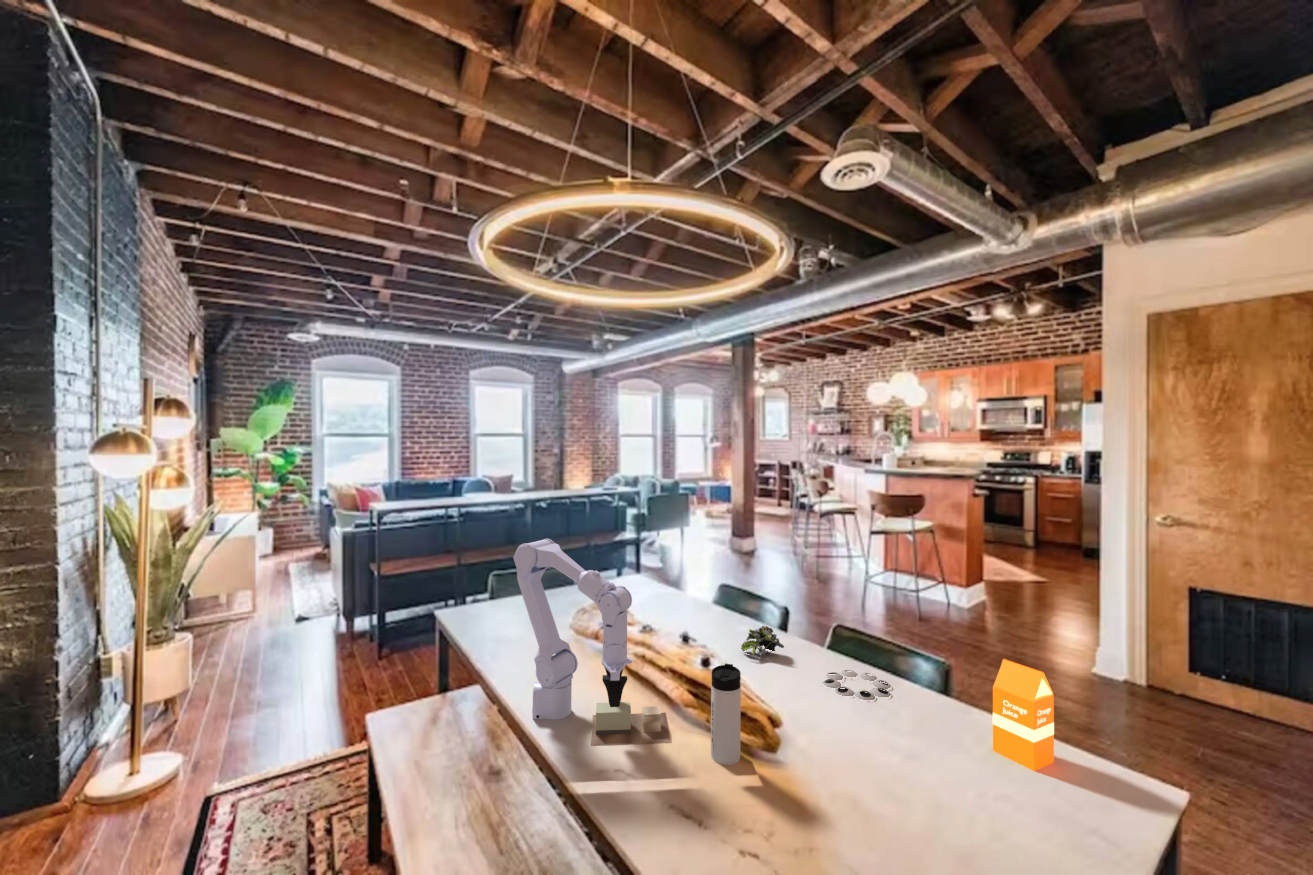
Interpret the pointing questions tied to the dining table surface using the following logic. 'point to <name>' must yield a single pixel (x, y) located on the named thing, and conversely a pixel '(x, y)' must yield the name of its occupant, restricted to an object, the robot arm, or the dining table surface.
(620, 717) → the block
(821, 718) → the dining table surface
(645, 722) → the birch offcut
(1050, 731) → the orange juice
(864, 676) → the silver black segmented ring
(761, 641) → the passion flower
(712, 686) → the travel mug
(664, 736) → the walnut board
